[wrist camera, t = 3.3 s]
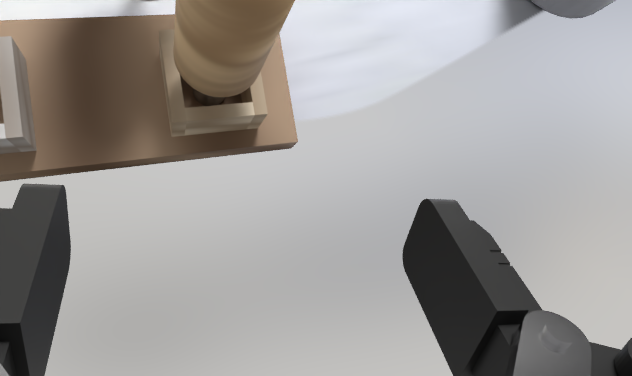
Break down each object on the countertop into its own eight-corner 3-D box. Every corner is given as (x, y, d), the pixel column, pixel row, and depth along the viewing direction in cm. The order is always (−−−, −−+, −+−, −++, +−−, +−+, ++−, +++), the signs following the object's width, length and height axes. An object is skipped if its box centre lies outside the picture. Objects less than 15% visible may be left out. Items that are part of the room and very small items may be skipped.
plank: (269, 23, 29) (285, -14, 25) (291, 148, 28) (311, 128, 25) (-122, 40, 24) (-176, -4, 20) (-109, 194, 23) (-162, 178, 19)
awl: (240, 53, 27) (297, -110, 15) (251, 123, 26) (318, 8, 15) (166, 58, 26) (170, -114, 14) (177, 130, 25) (189, 12, 14)
